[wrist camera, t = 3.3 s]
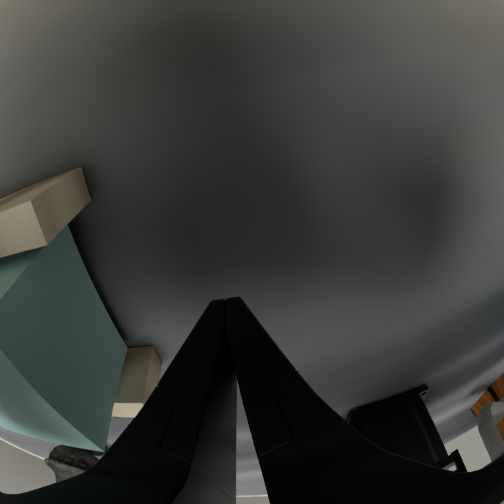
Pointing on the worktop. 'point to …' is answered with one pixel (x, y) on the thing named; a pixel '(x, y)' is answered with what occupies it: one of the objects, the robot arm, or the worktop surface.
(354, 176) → the worktop surface
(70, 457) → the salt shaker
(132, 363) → the chute
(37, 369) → the block
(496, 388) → the mug
